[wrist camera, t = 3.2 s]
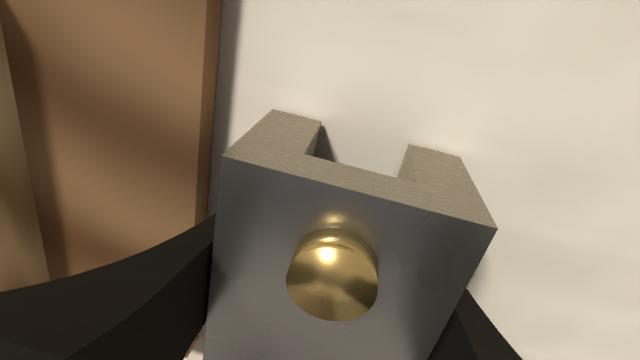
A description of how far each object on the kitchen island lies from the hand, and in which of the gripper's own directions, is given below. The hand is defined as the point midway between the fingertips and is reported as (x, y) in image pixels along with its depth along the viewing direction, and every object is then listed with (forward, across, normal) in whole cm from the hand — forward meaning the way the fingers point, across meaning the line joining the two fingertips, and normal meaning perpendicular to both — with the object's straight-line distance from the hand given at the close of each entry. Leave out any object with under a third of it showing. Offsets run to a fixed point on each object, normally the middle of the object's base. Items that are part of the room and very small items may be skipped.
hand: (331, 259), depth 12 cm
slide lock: (+1, 0, 0) cm, 1 cm away
